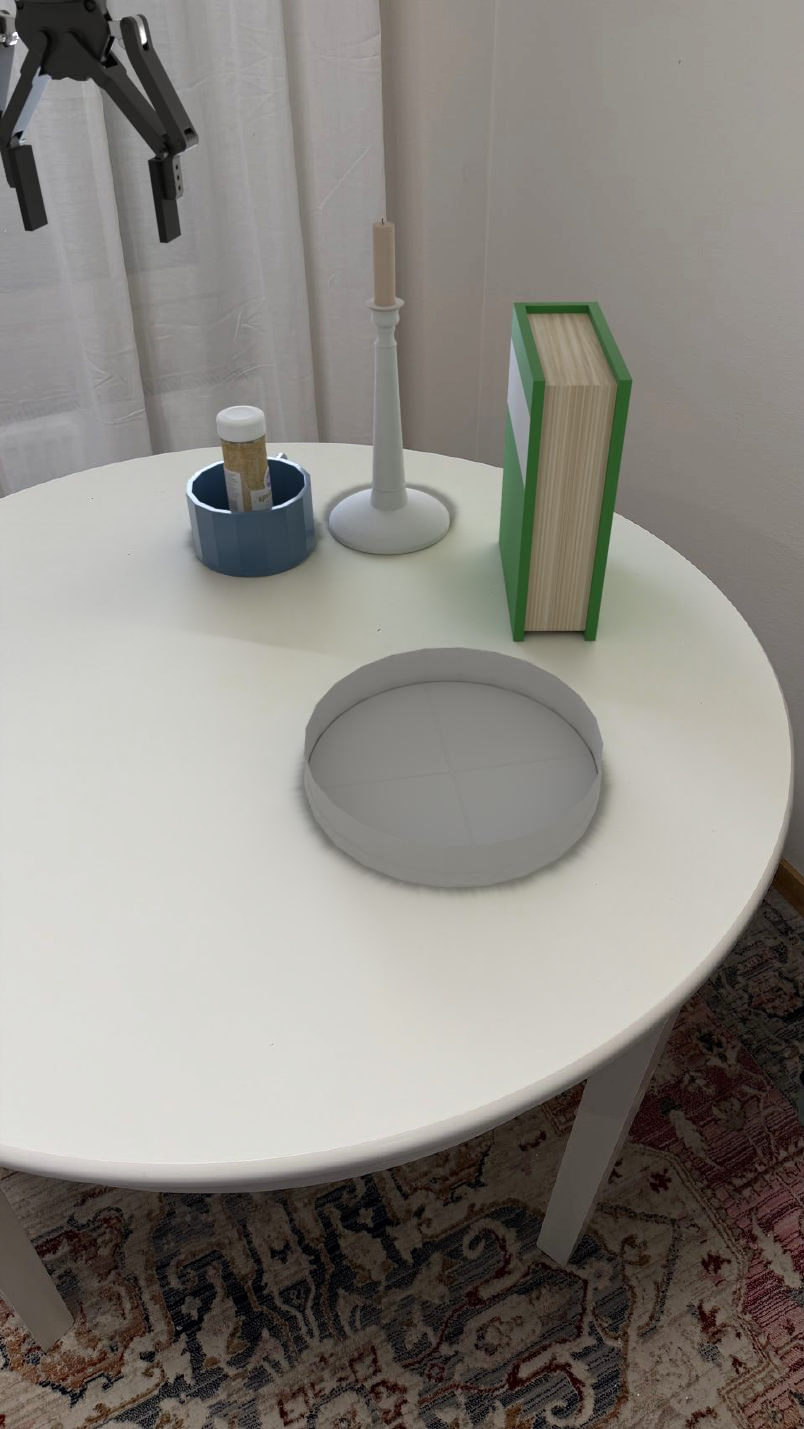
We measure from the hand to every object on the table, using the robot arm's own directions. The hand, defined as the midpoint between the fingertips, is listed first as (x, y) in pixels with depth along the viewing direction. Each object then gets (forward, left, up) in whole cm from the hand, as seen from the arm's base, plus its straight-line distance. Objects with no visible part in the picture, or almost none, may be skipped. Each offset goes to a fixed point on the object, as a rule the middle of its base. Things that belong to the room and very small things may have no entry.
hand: (102, 233), depth 91 cm
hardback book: (+43, -4, -29) cm, 52 cm away
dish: (+41, -33, -28) cm, 60 cm away
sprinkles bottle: (+13, -4, -28) cm, 31 cm away
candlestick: (+25, +4, -28) cm, 38 cm away
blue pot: (+13, -2, -28) cm, 31 cm away
